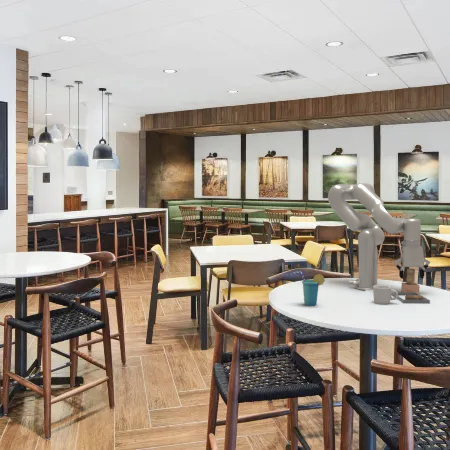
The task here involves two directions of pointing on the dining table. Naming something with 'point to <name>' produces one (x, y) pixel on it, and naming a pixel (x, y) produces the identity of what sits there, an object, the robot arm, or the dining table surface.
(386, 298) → the cup
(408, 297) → the walnut dowel
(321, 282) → the cup
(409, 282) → the oak dowel
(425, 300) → the tray
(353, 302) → the dining table surface
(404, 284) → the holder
